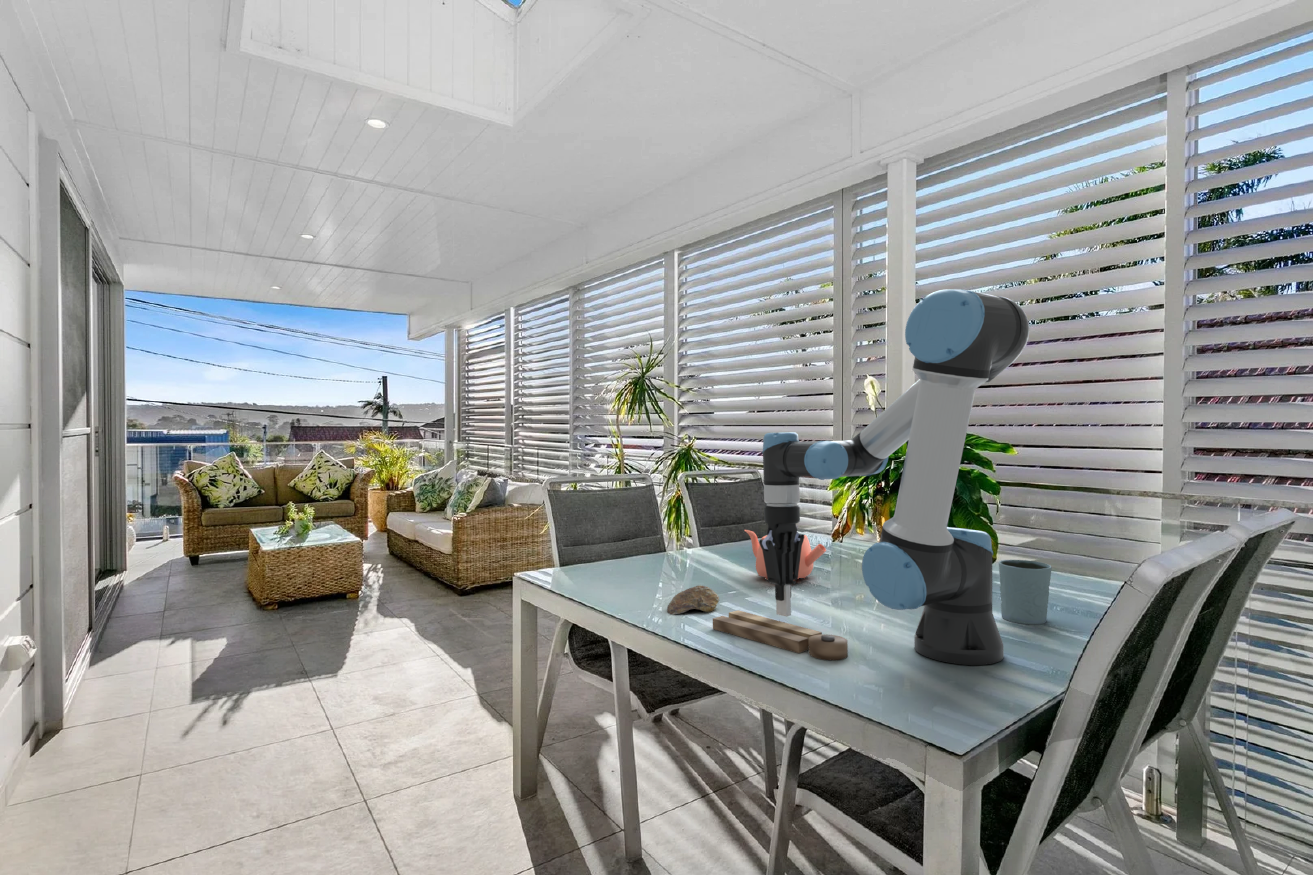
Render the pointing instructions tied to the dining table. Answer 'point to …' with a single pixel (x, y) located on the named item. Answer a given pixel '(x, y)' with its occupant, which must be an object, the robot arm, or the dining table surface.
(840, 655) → the bar
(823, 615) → the dining table surface
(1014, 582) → the pale blue plant pot
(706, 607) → the brown rock
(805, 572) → the teapot
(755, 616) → the tongs swing jaw
